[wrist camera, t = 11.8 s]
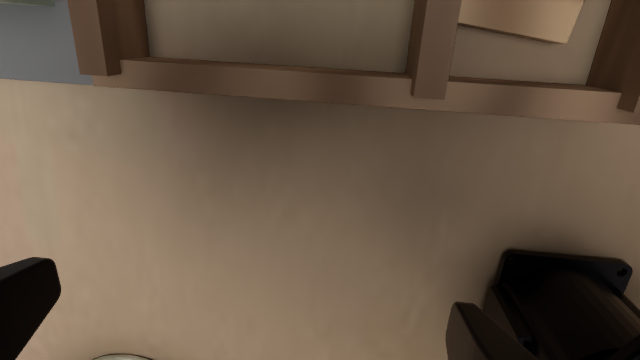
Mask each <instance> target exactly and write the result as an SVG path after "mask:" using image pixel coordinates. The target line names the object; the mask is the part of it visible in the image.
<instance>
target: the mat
mask: <svg viewBox="0 0 640 360" xmlns="http://www.w3.org/2000/svg"><path fill="white" fill-rule="evenodd" d="M54 3H55V7H53V6H35V5H18V4H0V78H1V79H15V80H29V81H43V82H57V83H71V84H85V85H93V80H92V75H81V74H80V72H79V66H78V60H77V54H76V49H75V43H74V37H73V31H72V25H71V20H70V14H69V8H68V2H67V0H54Z"/></svg>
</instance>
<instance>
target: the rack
mask: <svg viewBox="0 0 640 360" xmlns="http://www.w3.org/2000/svg"><path fill="white" fill-rule="evenodd" d="M67 2H68V8H69V14H70V20H71V25H72V31H73V37H74V43H75V49H76V54H77V60H78V66H79V72H80V74H81V75H92V80H93V86H103V87H117V88H131V89H145V90H159V91H173V92H187V93H201V94H215V95H229V96H243V97H257V98H271V99H285V100H298V101H312V102H326V103H340V104H354V105H368V106H382V107H396V108H410V109H424V110H438V111H452V112H466V113H480V114H494V115H508V116H522V117H536V118H550V119H564V120H578V121H592V122H606V123H620V124H634V125H640V0H612V2H611V5H610V9H609V12H608V15H607V19H606V22H605V25H604V28H603V32H602V35H601V38H600V41H599V45H598V48H597V51H596V55H595V58H594V61H593V64H592V68H591V71H590V74H589V77H588V81H587V84H586V85H573V84H557V83H542V82H527V81H511V80H496V79H481V78H465V77H450V76H449V71H450V65H451V60H452V54H453V48H454V42H455V37H456V31H457V25H458V19H459V14H460V8H461V2H462V0H415V4H414V12H413V19H412V27H411V34H410V42H409V49H408V57H407V65H406V72H405V74H404V73H389V72H373V71H358V70H343V69H327V68H312V67H296V66H281V65H266V64H250V63H235V62H220V61H204V60H189V59H174V58H158V57H149V48H148V38H147V29H146V20H145V10H144V1H143V0H67Z"/></svg>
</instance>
